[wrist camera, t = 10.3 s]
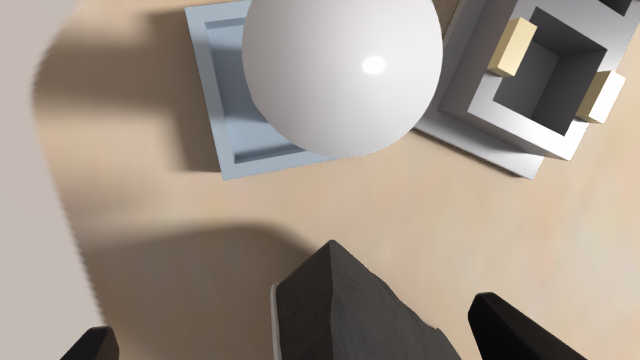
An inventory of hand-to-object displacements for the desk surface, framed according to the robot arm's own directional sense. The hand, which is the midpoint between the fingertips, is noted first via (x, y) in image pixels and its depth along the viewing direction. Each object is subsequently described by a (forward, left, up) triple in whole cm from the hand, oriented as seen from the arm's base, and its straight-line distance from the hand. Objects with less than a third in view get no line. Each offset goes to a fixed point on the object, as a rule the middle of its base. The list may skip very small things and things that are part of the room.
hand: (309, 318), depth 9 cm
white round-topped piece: (+6, -2, -12) cm, 13 cm away
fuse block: (+7, -16, -12) cm, 22 cm away
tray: (+6, -1, -12) cm, 14 cm away
